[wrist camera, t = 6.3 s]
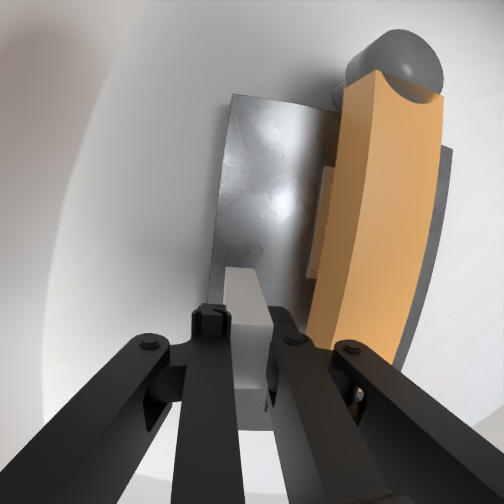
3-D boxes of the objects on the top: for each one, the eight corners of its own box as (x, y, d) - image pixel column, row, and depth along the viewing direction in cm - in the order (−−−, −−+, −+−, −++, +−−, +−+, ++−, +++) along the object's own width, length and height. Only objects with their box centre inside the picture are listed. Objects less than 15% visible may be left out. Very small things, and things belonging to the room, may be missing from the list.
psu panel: (231, 103, 19) (232, 93, 17) (433, 150, 21) (454, 149, 19) (199, 408, 25) (198, 429, 22) (368, 407, 27) (378, 424, 24)
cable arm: (347, 44, 15) (377, 18, 11) (405, 64, 15) (442, 47, 11) (300, 354, 19) (317, 393, 15) (357, 355, 20) (381, 389, 16)
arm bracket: (334, 78, 19) (356, 62, 15) (364, 87, 20) (390, 73, 16) (330, 109, 20) (353, 97, 16) (361, 117, 20) (388, 108, 16)
